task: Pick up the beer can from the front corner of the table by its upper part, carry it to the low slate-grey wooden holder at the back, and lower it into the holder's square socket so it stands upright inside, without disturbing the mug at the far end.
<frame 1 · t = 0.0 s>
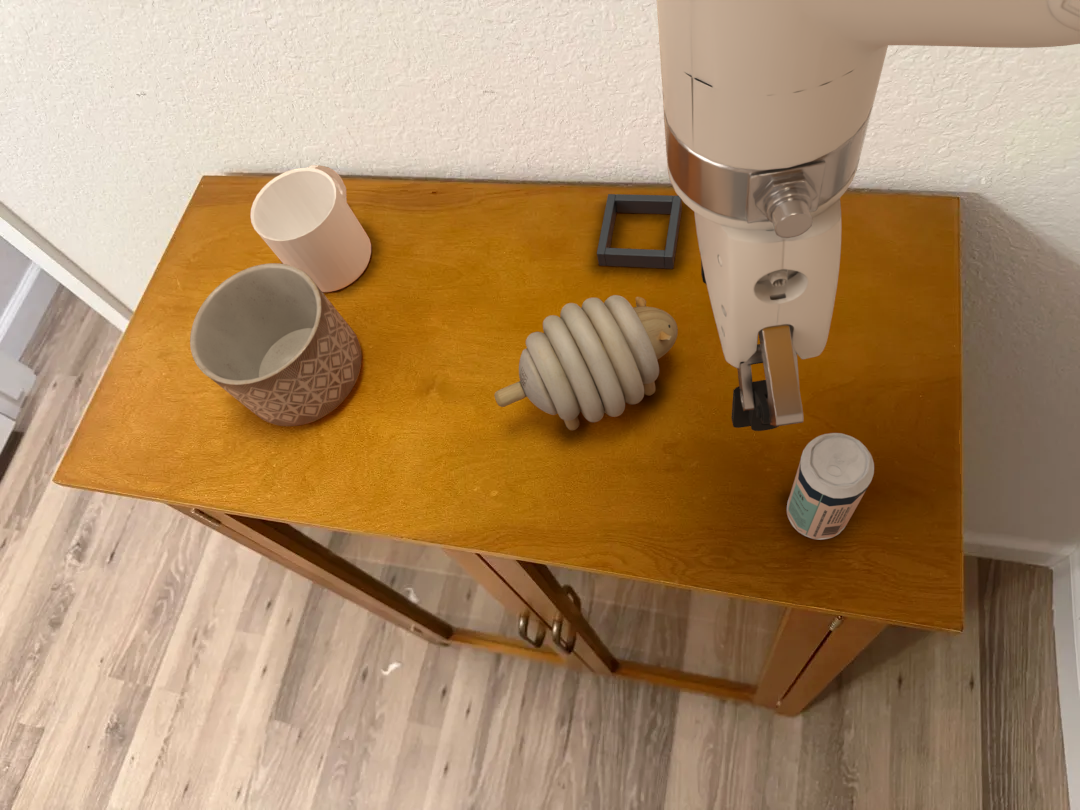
hand: (743, 345, 45), 23 cm above the table, tool pointing down, fingers open, 9 cm apart
holder: (640, 236, 78), on the table
mug: (340, 249, 85), on the table
planter: (308, 375, 79), on the table
toy sheep: (596, 390, 72), on the table
beer can: (816, 513, 63), on the table
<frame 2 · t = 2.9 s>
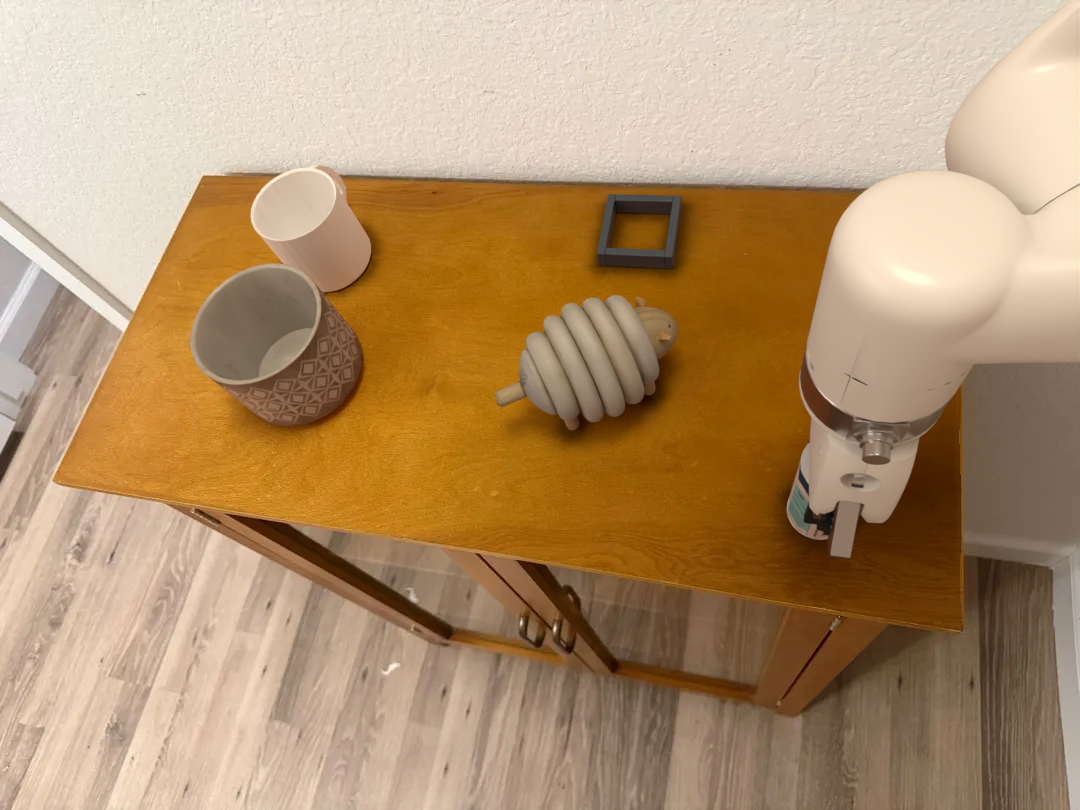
hand: (828, 485, 57), 7 cm above the table, tool pointing down, fingers closed on beer can, 4 cm apart
beer can: (816, 513, 63), on the table, touching gripper
everything else where it was.
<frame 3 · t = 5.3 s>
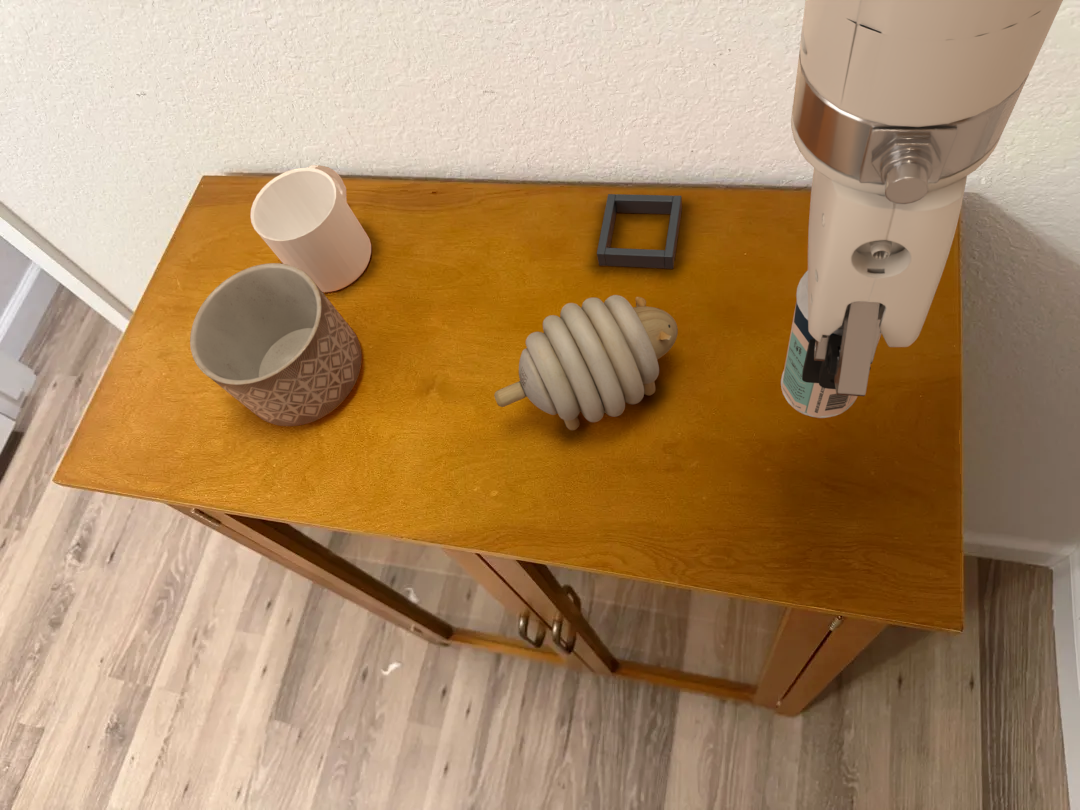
hand: (833, 334, 44), 23 cm above the table, tool pointing down, fingers closed on beer can, 4 cm apart
beer can: (818, 388, 50), point 16 cm above the table, touching gripper
everything else where it was.
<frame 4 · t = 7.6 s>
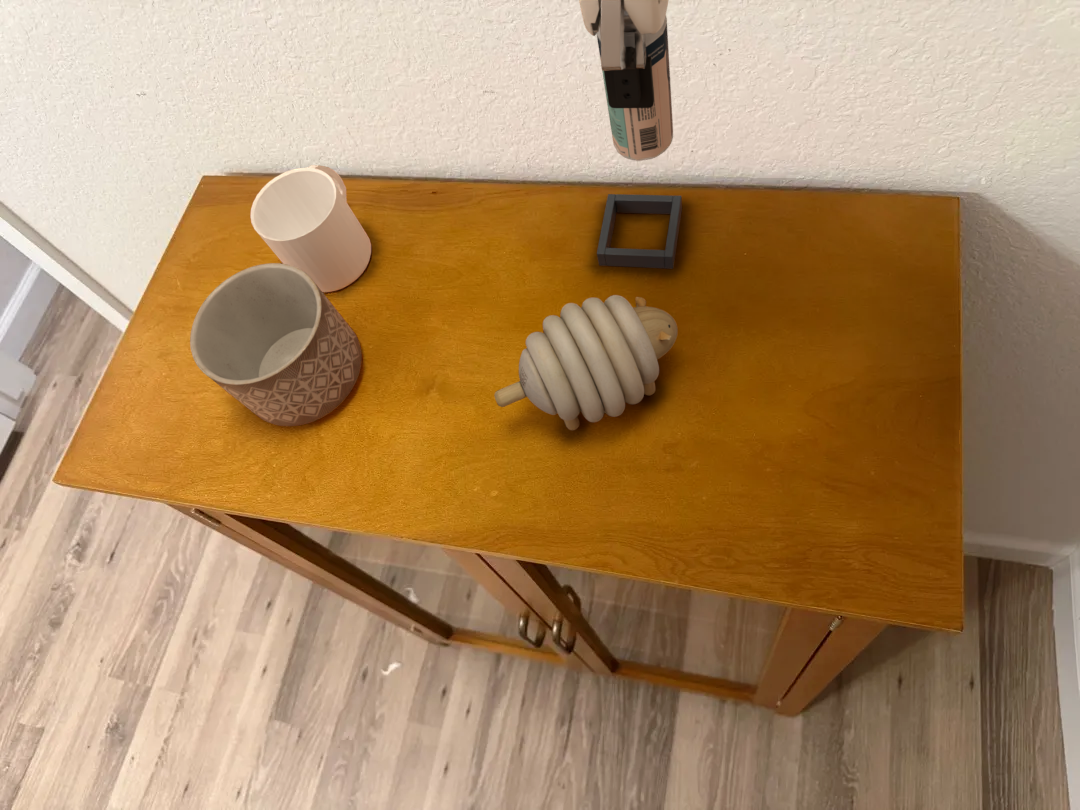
hand: (637, 74, 56), 23 cm above the table, tool pointing down, fingers closed on beer can, 4 cm apart
beer can: (643, 143, 62), point 16 cm above the table, touching gripper
everything else where it was.
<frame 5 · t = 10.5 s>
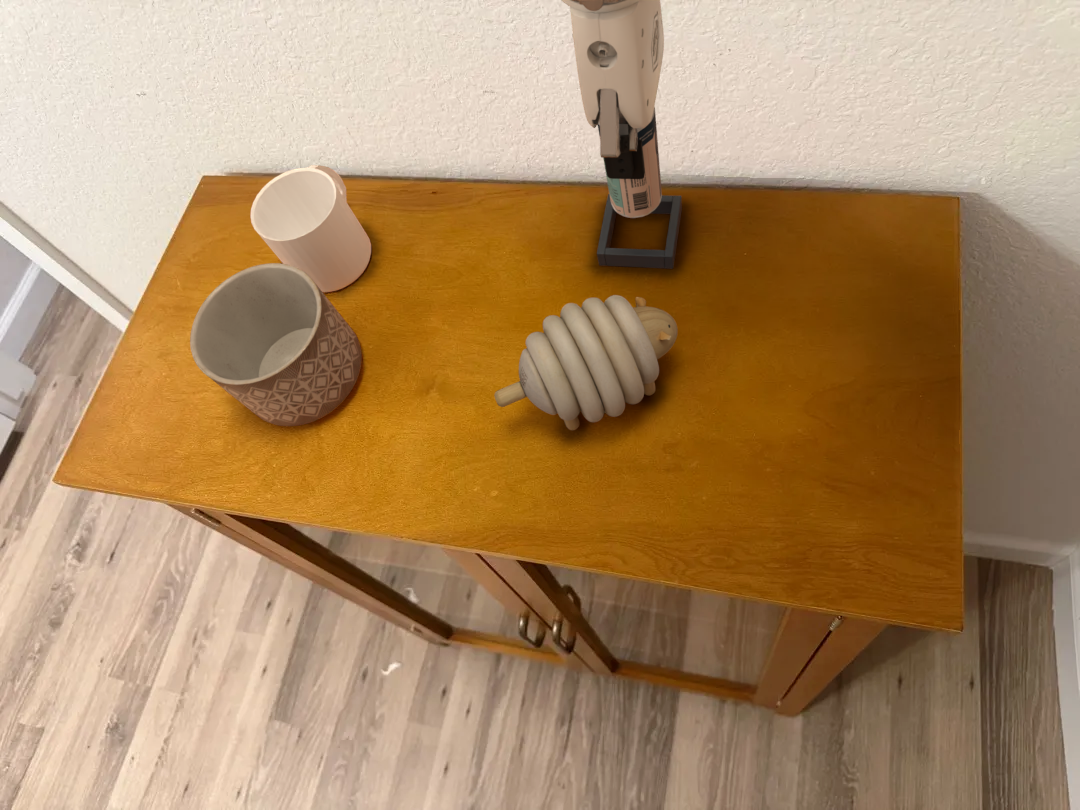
hand: (630, 149, 67), 12 cm above the table, tool pointing down, fingers closed on beer can, 4 cm apart
beer can: (636, 202, 73), point 5 cm above the table, touching gripper
everything else where it was.
when the fingers open (7 cm above the table, at t = 12.6 s): beer can stays where it is, resting in holder.
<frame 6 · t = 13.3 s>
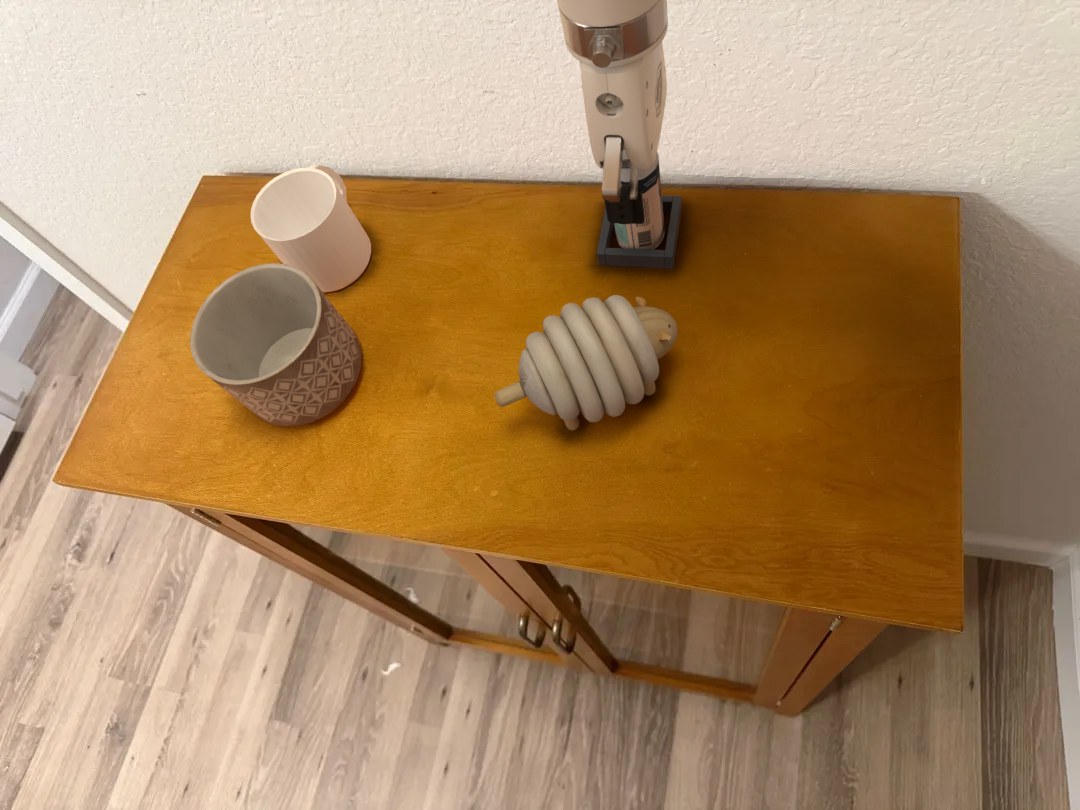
hand: (634, 177, 70), 9 cm above the table, tool pointing down, fingers open, 9 cm apart
beer can: (640, 238, 78), resting in holder
everything else where it was.
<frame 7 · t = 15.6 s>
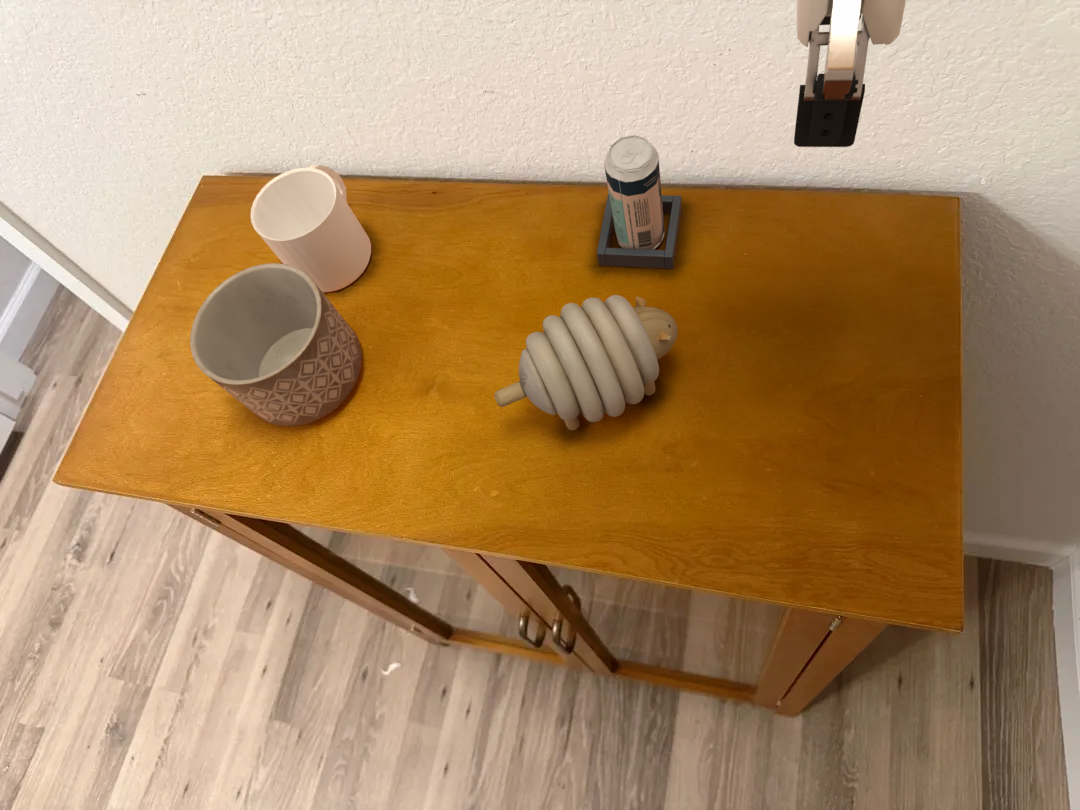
hand: (827, 79, 46), 28 cm above the table, tool pointing down, fingers open, 9 cm apart
nothing on the table moved.
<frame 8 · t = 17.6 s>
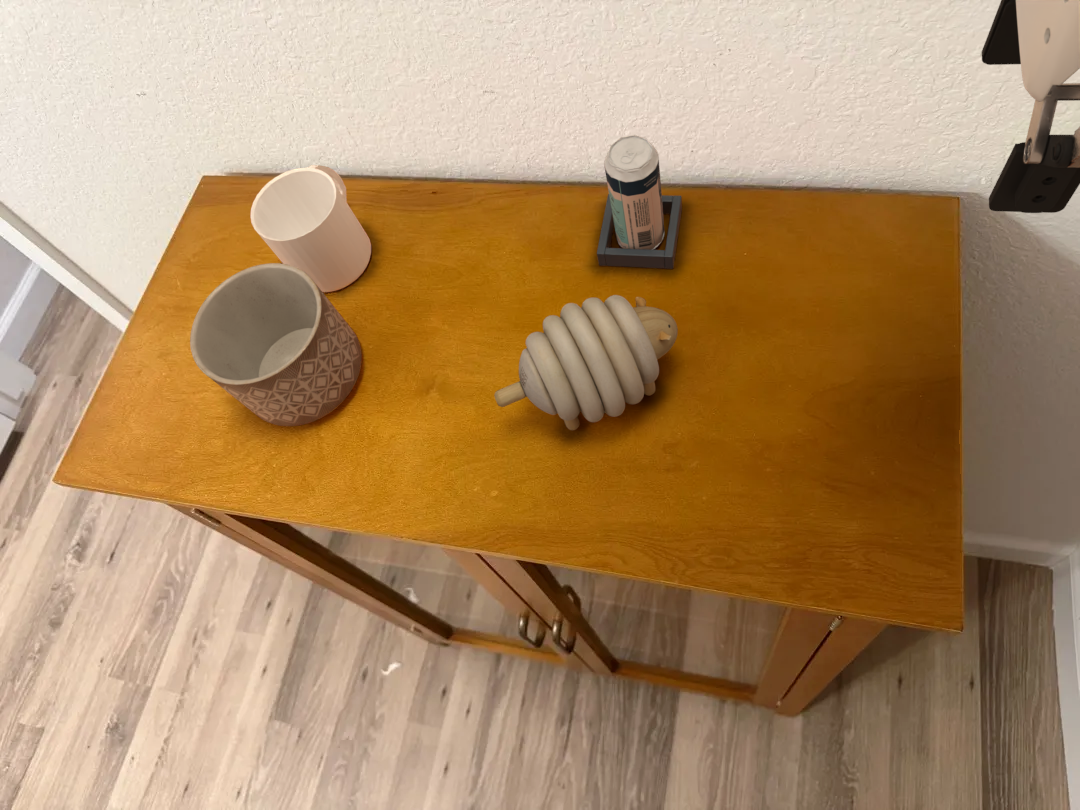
hand: (1018, 130, 39), 30 cm above the table, tool pointing down, fingers open, 9 cm apart
nothing on the table moved.
at the end: beer can 0.0 cm off-centre in the holder, point 0.0 cm above the holder's base; beer can tilted 0°; mug moved 0.2 cm from its start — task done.
